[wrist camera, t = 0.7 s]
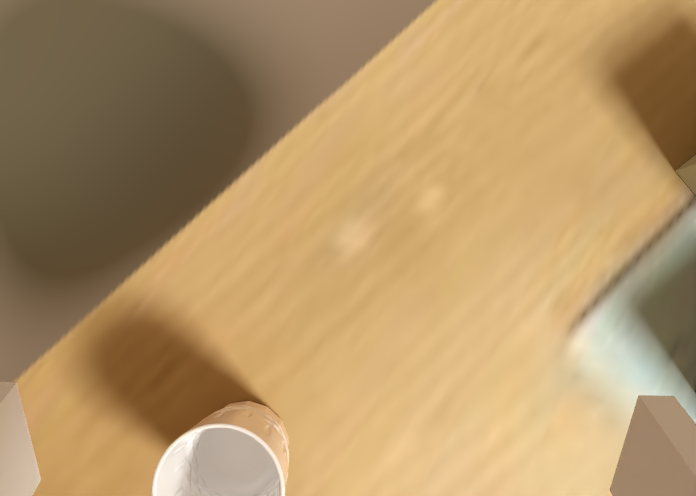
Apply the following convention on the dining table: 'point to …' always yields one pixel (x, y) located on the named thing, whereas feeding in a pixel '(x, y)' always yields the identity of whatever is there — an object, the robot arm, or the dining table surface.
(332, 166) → the dining table surface
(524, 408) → the dining table surface
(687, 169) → the olive cover
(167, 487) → the white cup
